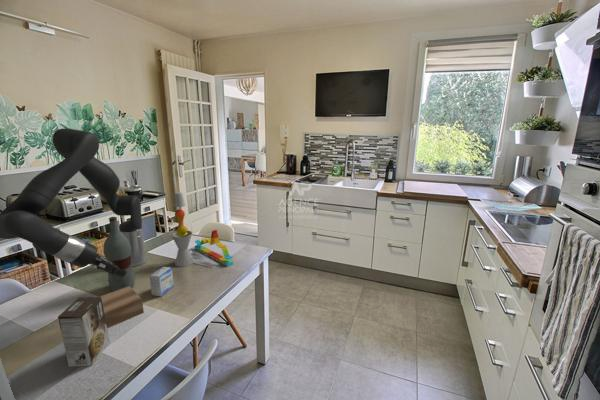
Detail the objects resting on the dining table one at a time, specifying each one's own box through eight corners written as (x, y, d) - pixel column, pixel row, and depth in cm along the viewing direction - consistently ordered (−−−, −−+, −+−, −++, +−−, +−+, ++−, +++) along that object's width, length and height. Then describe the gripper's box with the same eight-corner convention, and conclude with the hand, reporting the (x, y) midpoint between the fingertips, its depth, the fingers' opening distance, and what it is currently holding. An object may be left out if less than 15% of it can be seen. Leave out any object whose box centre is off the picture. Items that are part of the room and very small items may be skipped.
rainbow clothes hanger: (194, 249, 156) (192, 223, 152) (199, 247, 158) (197, 221, 154) (227, 267, 136) (226, 237, 133) (233, 265, 139) (231, 236, 135)
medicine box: (161, 297, 112) (159, 276, 109) (151, 295, 112) (149, 275, 110) (174, 286, 119) (172, 267, 117) (164, 285, 120) (162, 266, 118)
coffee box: (88, 343, 87) (79, 296, 83) (110, 342, 88) (102, 295, 84) (67, 367, 79) (56, 316, 75) (92, 366, 79) (82, 315, 75)
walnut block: (94, 314, 101) (91, 299, 99) (131, 299, 110) (129, 285, 108) (104, 330, 93) (102, 314, 92) (143, 313, 102) (141, 298, 101)
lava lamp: (170, 263, 138) (163, 193, 130) (186, 256, 146) (181, 189, 137) (181, 268, 134) (175, 195, 125) (198, 261, 141) (193, 192, 132)
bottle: (141, 284, 120) (132, 216, 112) (119, 295, 112) (108, 222, 104) (126, 279, 124) (116, 212, 116) (104, 289, 115) (92, 219, 108)
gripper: (91, 246, 87) (135, 267, 98) (75, 235, 95) (118, 255, 107) (73, 268, 84) (121, 287, 96) (58, 255, 92) (104, 273, 104)
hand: (119, 270), depth 101 cm, fingers open, 8 cm apart
